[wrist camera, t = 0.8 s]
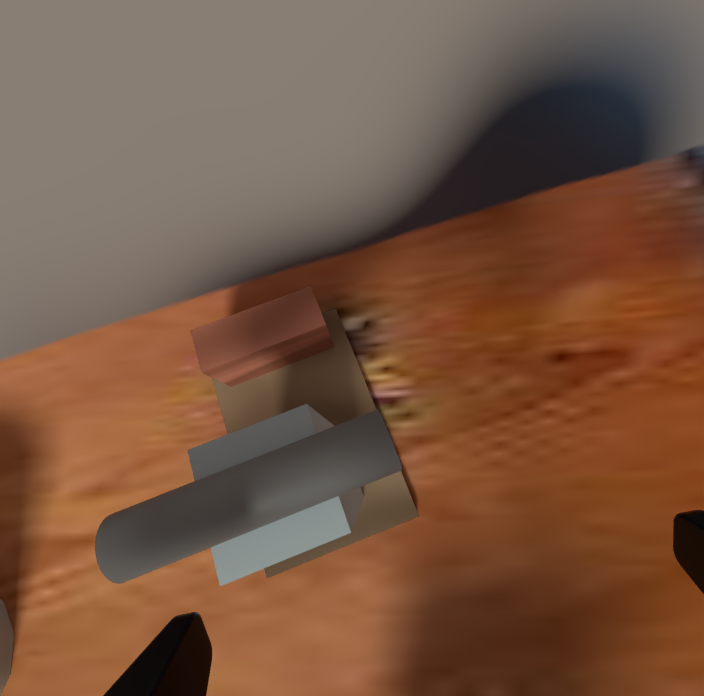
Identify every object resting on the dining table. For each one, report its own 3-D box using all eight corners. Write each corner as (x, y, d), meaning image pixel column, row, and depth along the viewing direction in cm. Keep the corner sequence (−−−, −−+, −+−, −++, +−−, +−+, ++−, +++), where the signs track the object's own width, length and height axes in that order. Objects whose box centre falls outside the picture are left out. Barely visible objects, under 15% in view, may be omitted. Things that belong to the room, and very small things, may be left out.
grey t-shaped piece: (396, 483, 22) (422, 514, 9) (264, 537, 21) (109, 643, 9) (370, 417, 23) (362, 367, 10) (244, 467, 22) (83, 476, 10)
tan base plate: (417, 513, 22) (428, 528, 17) (270, 574, 21) (240, 606, 17) (337, 312, 26) (327, 278, 21) (211, 360, 25) (173, 337, 21)
